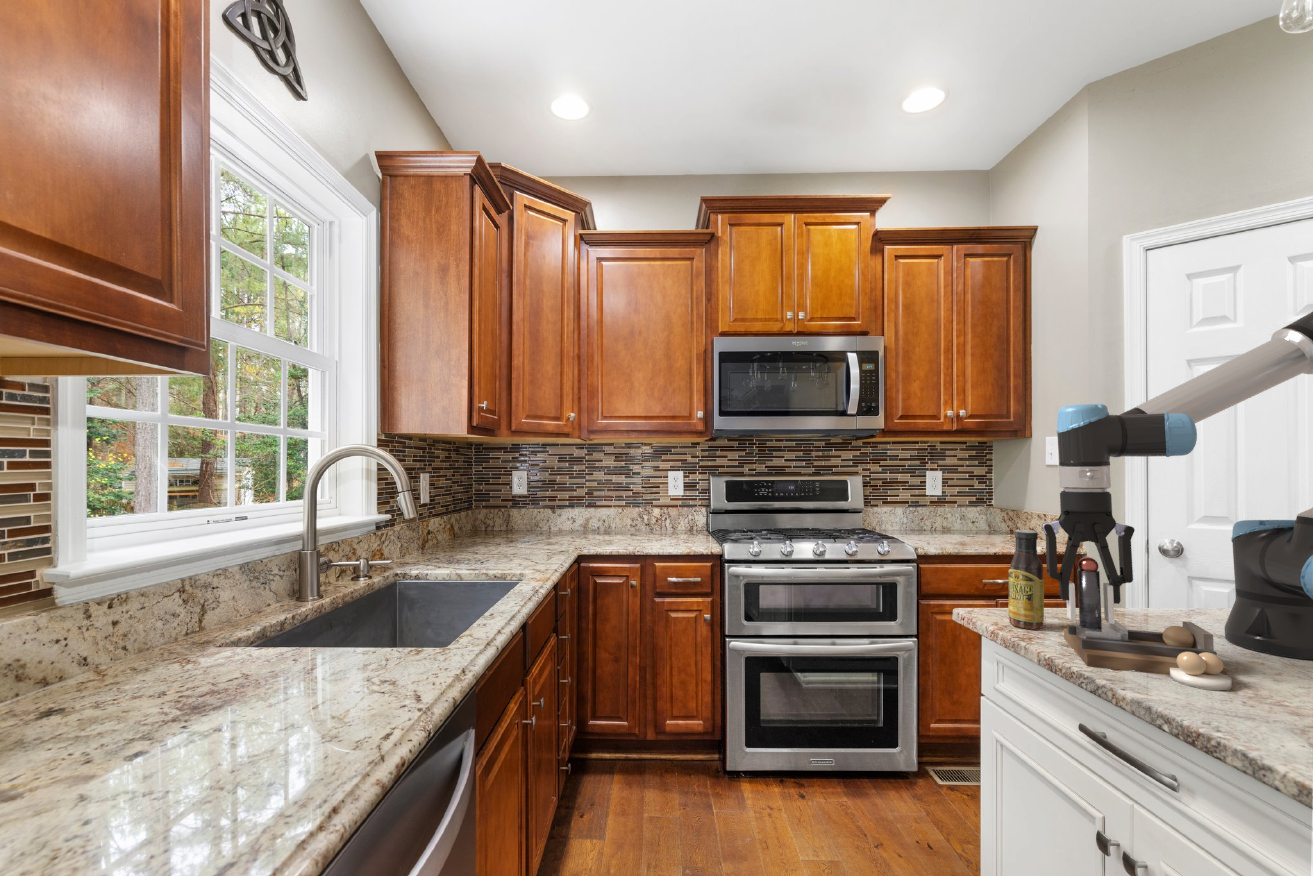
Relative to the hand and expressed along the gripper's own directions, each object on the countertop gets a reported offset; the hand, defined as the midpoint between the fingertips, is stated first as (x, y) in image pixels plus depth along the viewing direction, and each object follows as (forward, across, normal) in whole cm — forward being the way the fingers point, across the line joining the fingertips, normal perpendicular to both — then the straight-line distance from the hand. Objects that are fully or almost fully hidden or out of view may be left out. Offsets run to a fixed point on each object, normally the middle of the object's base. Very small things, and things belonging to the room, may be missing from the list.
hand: (1090, 619), depth 104 cm
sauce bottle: (+6, -8, +15) cm, 18 cm away
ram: (+4, +1, 0) cm, 4 cm away
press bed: (+6, +6, 0) cm, 9 cm away
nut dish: (+6, +12, -10) cm, 16 cm away
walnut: (+4, +12, 0) cm, 13 cm away
